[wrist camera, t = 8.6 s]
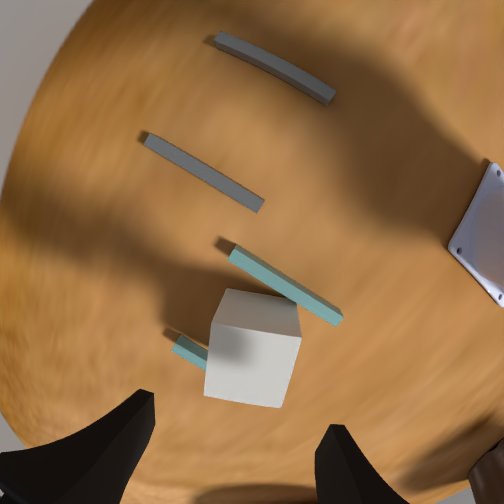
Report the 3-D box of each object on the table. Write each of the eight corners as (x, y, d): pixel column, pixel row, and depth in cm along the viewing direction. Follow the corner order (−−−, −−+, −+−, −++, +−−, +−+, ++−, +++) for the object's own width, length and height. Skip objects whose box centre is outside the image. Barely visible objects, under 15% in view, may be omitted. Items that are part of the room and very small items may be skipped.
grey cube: (295, 299, 19) (302, 337, 14) (280, 361, 20) (280, 408, 15) (227, 287, 19) (211, 322, 14) (218, 350, 20) (203, 395, 15)
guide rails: (430, 173, 16) (439, 173, 15) (268, 392, 20) (267, 402, 19) (223, 39, 15) (220, 30, 14) (89, 281, 19) (81, 286, 18)
